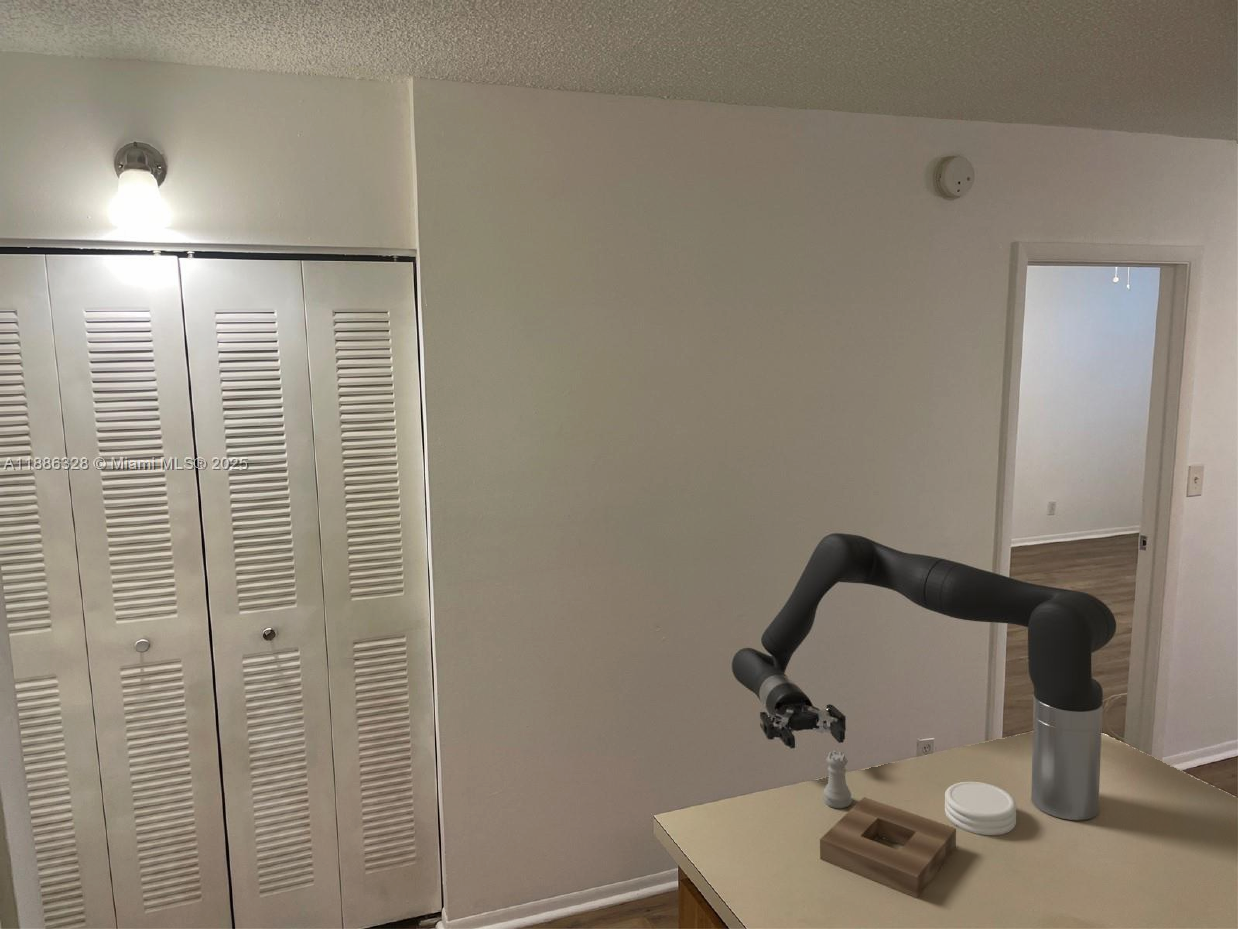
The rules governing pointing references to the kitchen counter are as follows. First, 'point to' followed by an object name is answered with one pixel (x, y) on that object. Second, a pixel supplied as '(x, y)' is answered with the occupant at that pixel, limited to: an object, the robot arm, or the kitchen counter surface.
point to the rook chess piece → (837, 782)
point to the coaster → (980, 808)
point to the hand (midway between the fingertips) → (817, 740)
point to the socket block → (883, 864)
